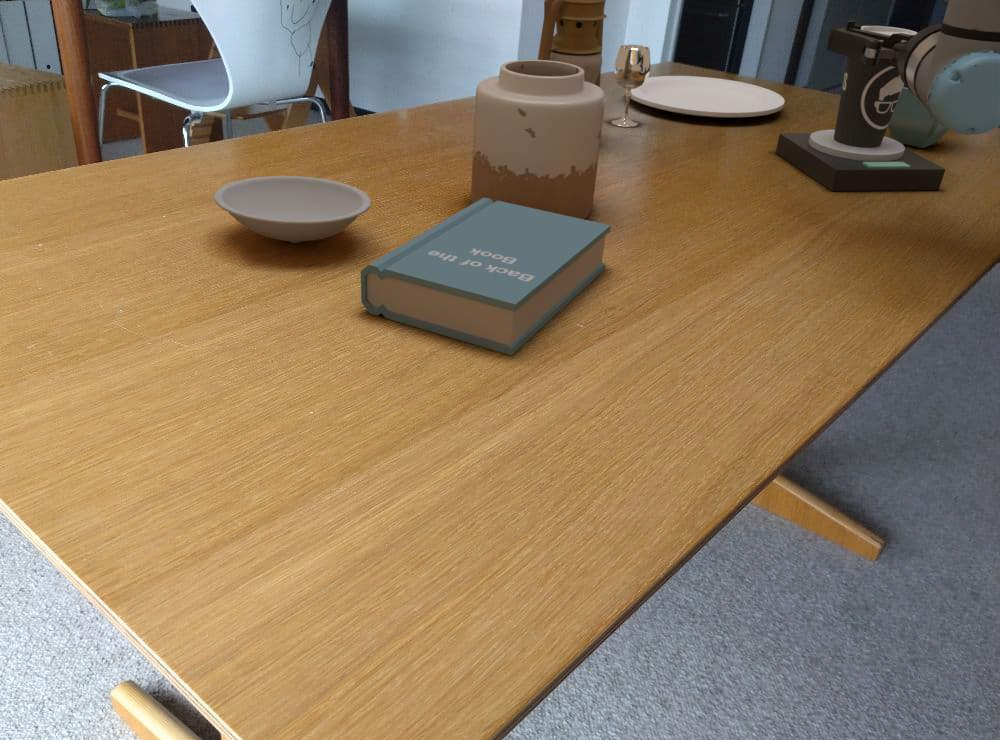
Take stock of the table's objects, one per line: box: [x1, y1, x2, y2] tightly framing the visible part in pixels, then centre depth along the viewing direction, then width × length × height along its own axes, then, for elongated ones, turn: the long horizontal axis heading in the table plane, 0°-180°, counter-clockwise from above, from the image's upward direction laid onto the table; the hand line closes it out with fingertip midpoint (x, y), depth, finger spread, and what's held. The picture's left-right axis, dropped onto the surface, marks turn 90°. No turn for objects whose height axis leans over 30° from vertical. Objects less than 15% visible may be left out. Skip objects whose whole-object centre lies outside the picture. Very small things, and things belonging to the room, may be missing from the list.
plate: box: [625, 75, 786, 119], centre depth 159 cm, size 28×28×2 cm
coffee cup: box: [834, 25, 918, 148], centre depth 123 cm, size 10×10×15 cm
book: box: [360, 198, 611, 356], centre depth 88 cm, size 23×16×5 cm
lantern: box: [537, 0, 608, 88], centre depth 128 cm, size 15×10×30 cm
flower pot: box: [887, 85, 949, 149], centre depth 140 cm, size 9×9×9 cm
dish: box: [213, 175, 372, 244], centre depth 97 cm, size 18×14×5 cm
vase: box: [470, 59, 606, 220], centre depth 106 cm, size 15×15×17 cm
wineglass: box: [611, 44, 651, 128], centre depth 144 cm, size 6×6×12 cm
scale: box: [775, 129, 946, 192], centre depth 128 cm, size 18×16×4 cm
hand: (903, 33), depth 111 cm, fingers open, 13 cm apart
